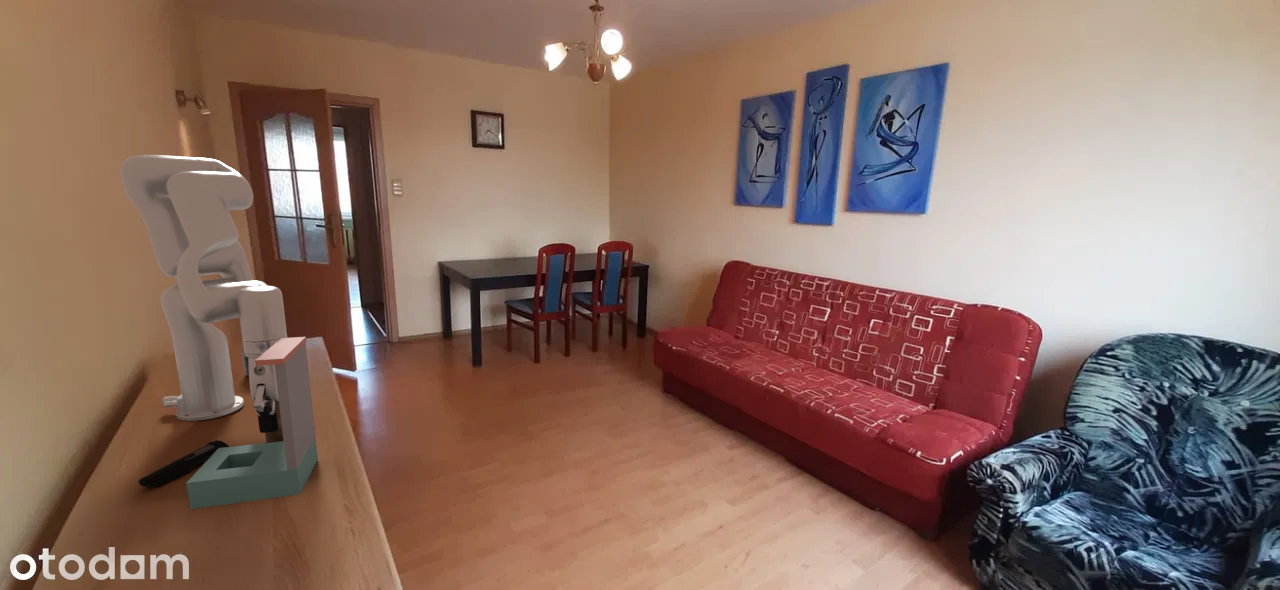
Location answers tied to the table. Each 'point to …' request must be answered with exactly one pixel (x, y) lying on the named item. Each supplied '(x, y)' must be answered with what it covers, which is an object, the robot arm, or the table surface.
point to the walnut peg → (278, 434)
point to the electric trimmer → (181, 465)
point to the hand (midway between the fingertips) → (275, 423)
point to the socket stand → (266, 464)
